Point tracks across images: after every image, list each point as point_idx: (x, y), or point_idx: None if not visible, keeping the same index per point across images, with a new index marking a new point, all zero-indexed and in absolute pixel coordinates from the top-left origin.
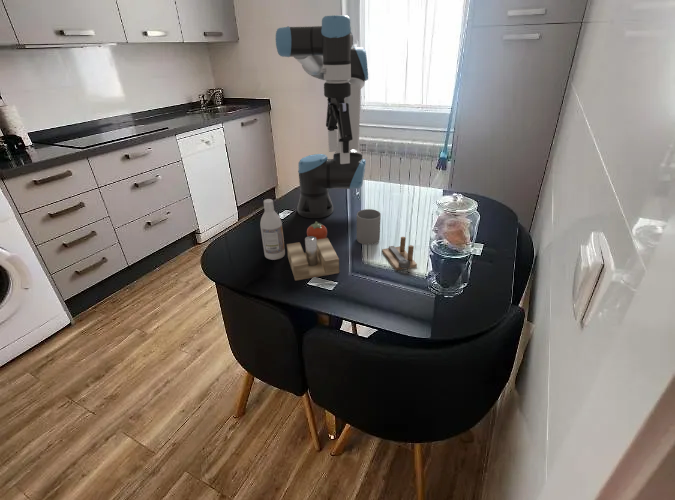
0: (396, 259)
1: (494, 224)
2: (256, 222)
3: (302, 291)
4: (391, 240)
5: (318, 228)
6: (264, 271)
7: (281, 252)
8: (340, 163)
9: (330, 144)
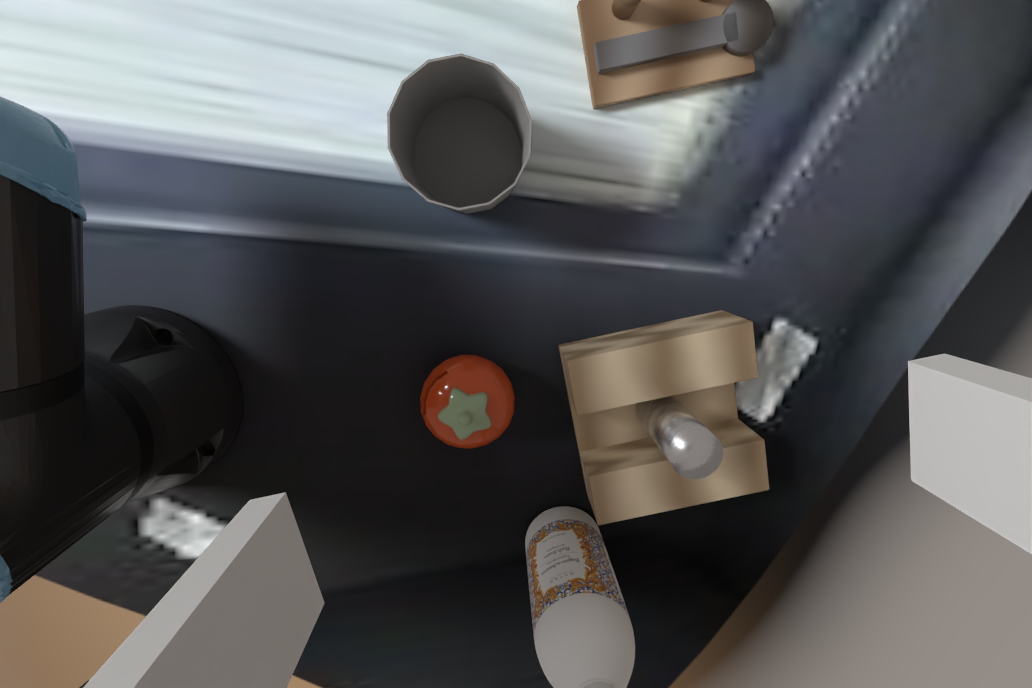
0: (691, 55)
1: None
2: None
3: (802, 434)
4: (492, 38)
5: (490, 404)
6: (664, 558)
7: (592, 526)
8: (923, 478)
9: (270, 682)
